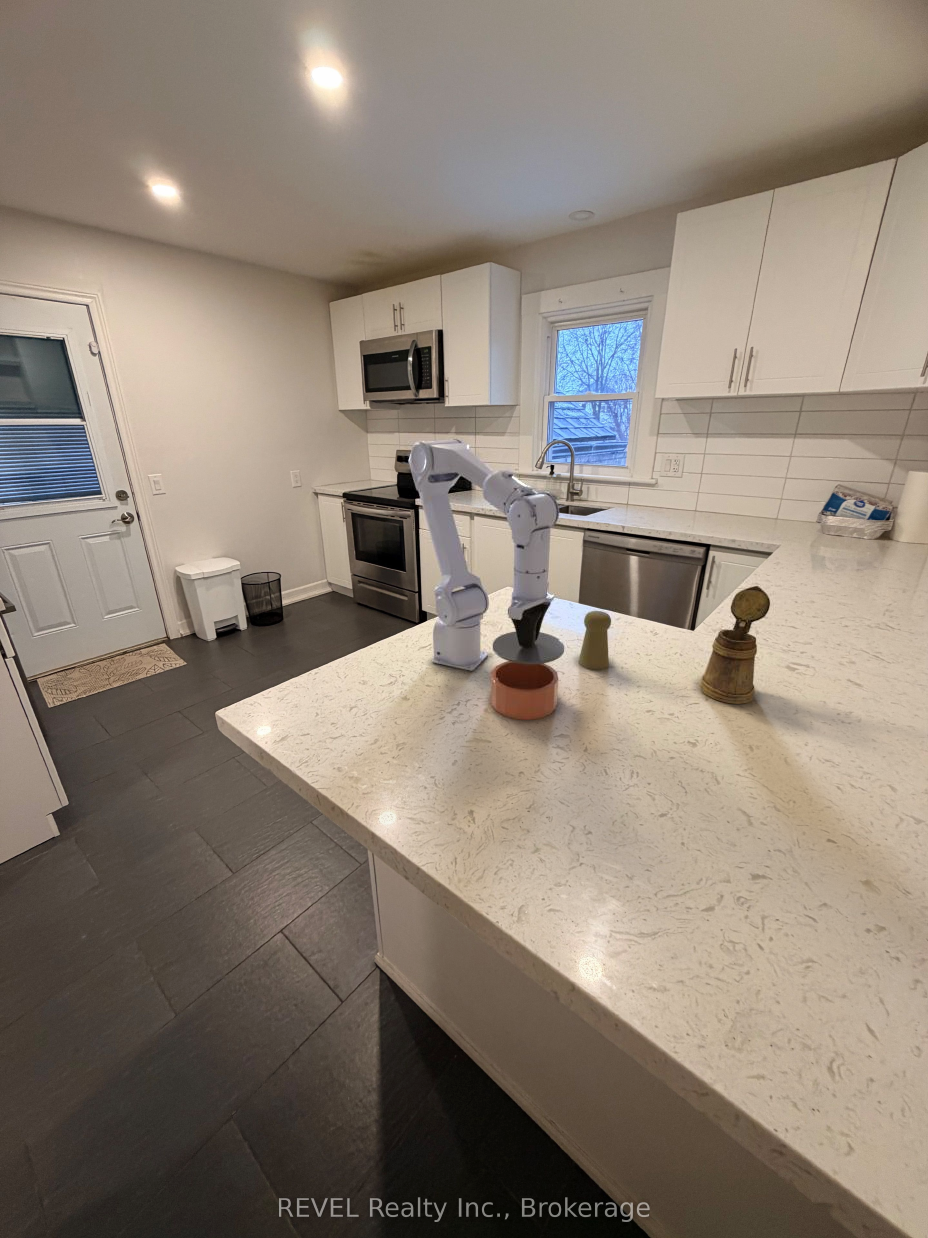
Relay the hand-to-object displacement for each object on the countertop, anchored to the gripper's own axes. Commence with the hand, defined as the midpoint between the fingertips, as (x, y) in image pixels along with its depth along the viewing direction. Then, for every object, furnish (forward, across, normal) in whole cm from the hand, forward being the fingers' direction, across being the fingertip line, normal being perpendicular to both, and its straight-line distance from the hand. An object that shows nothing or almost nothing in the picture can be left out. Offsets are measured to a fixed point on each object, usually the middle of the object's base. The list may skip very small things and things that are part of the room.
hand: (528, 642), depth 87 cm
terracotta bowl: (+10, -3, 0) cm, 11 cm away
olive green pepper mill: (+10, +17, -8) cm, 22 cm away
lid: (+1, 0, 0) cm, 1 cm away
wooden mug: (+10, +18, -33) cm, 40 cm away
